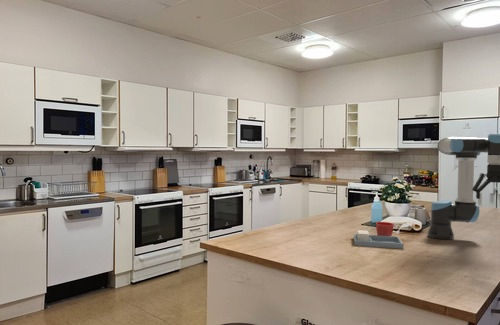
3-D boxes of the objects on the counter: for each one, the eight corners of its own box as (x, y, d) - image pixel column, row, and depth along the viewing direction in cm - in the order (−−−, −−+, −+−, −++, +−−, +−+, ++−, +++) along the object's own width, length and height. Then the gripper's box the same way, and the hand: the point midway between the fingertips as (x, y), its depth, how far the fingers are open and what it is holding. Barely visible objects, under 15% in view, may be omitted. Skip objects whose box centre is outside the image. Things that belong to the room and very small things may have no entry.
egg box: (357, 239, 223) (357, 230, 223) (367, 240, 222) (367, 230, 221) (358, 243, 213) (358, 233, 213) (368, 244, 212) (369, 234, 212)
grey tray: (353, 239, 227) (353, 233, 227) (398, 242, 221) (398, 236, 221) (354, 246, 210) (354, 240, 210) (403, 250, 204) (403, 243, 204)
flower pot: (397, 239, 228) (397, 224, 228) (383, 241, 224) (383, 225, 223) (385, 236, 238) (385, 221, 237) (371, 237, 234) (372, 222, 233)
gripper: (471, 163, 185) (469, 205, 185) (528, 164, 178) (526, 208, 179) (466, 163, 192) (465, 203, 193) (521, 164, 186) (519, 206, 186)
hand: (494, 205), depth 186 cm, fingers open, 13 cm apart
